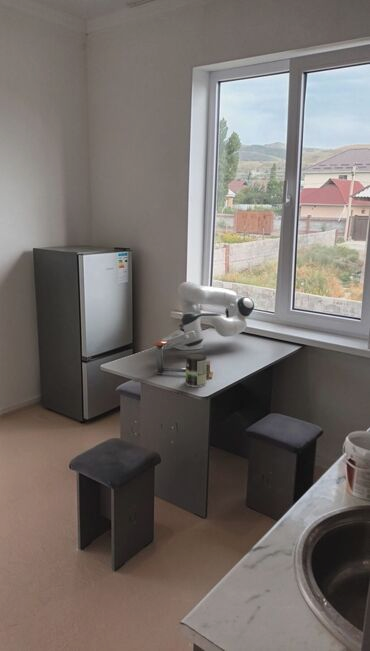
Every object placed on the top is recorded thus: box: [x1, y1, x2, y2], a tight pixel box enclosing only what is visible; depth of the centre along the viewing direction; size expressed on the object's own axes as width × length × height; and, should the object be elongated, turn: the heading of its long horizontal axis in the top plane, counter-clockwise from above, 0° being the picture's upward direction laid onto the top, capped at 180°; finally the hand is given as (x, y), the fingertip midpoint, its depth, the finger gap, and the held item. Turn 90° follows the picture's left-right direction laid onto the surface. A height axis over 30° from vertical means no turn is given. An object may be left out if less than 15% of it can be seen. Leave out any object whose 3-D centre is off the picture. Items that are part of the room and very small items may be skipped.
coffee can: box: [185, 352, 208, 388], centre depth 241 cm, size 10×10×14 cm
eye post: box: [206, 360, 214, 380], centre depth 252 cm, size 7×8×7 cm
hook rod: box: [152, 339, 186, 375], centre depth 252 cm, size 22×6×17 cm, turn 82°
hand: (176, 340), depth 259 cm, fingers open, 8 cm apart
